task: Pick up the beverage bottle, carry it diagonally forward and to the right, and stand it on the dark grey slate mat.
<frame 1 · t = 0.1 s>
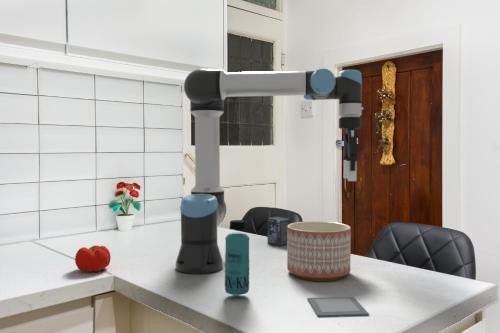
hand: (349, 179, 152), 28 cm above the countertop, fingers open, 13 cm apart
box: (278, 244, 181), on the countertop
slate mat: (336, 306, 109), on the countertop
beverage bottle: (237, 297, 116), on the countertop
tomato: (93, 270, 142), on the countertop
planter: (318, 274, 138), on the countertop
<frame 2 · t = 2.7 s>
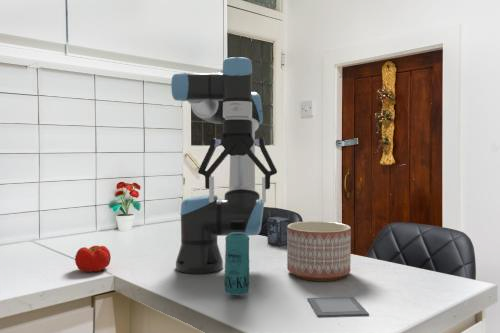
hand: (237, 202, 115), 25 cm above the countertop, fingers open, 13 cm apart
nothing on the countertop moved.
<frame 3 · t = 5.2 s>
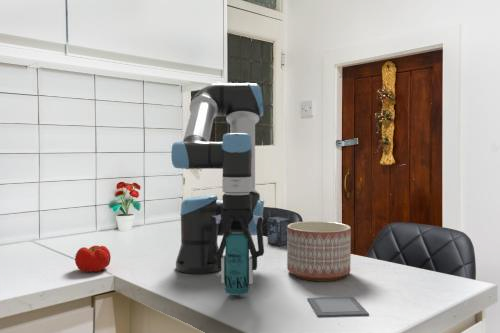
hand: (237, 281, 116), 4 cm above the countertop, fingers closed on beverage bottle, 6 cm apart
beverage bottle: (237, 297, 116), on the countertop, touching gripper
everything else where it was.
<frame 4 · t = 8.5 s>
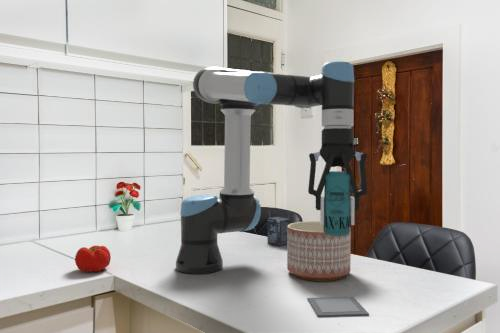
hand: (337, 223, 108), 20 cm above the countertop, fingers closed on beverage bottle, 6 cm apart
beverage bottle: (336, 240, 108), point 16 cm above the countertop, touching gripper
everything else where it was.
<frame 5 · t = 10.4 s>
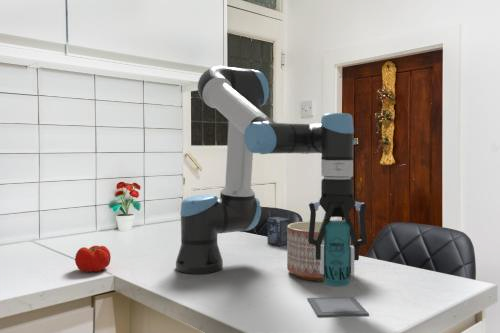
hand: (336, 272, 108), 8 cm above the countertop, fingers closed on beverage bottle, 6 cm apart
beverage bottle: (336, 289, 108), point 4 cm above the countertop, touching gripper
everything else where it was.
when the fingers open (6 cm above the countertop, at t = 11.8 s): beverage bottle drops 1 cm, resting on slate mat.
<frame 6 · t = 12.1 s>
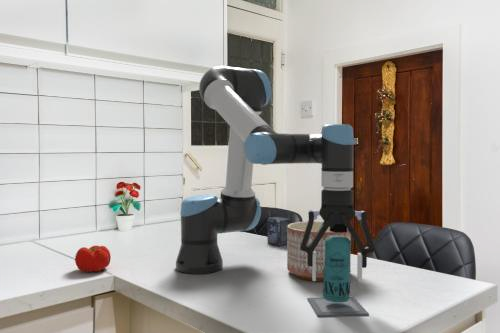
hand: (336, 280, 108), 7 cm above the countertop, fingers open, 10 cm apart
beverage bottle: (336, 305, 108), resting on slate mat
everything else where it was.
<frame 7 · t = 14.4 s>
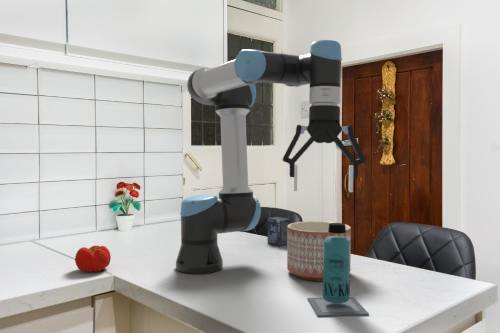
hand: (322, 191, 111), 28 cm above the countertop, fingers open, 13 cm apart
nothing on the countertop moved.
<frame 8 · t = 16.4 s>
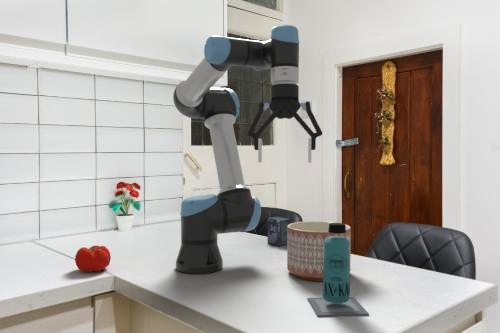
hand: (284, 162, 123), 35 cm above the countertop, fingers open, 13 cm apart
nothing on the countertop moved.
at the end: beverage bottle inside the target area on the slate mat (0.1 cm from its centre), point 0.3 cm above the slate mat's base; beverage bottle tilted 0°; the gripper is holding nothing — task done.
